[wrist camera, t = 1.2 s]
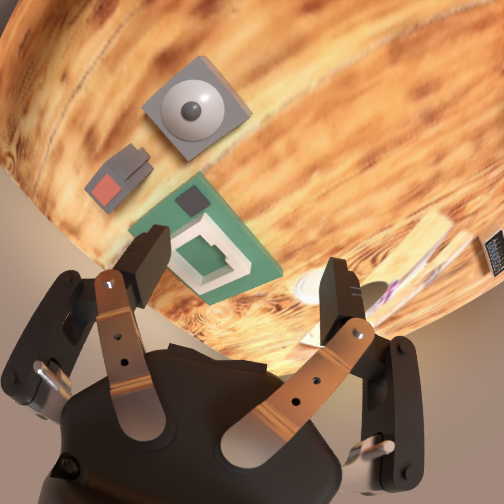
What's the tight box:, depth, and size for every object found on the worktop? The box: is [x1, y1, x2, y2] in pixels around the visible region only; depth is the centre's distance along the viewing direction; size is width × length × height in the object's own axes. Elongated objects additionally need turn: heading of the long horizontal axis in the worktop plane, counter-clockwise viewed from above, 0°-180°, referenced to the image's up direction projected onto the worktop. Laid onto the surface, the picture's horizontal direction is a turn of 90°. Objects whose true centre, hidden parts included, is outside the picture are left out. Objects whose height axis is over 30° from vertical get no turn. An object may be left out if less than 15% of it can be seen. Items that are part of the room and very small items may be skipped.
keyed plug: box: [84, 144, 154, 215], centre depth 28 cm, size 4×6×6 cm
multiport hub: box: [478, 221, 504, 277], centre depth 30 cm, size 4×11×2 cm, turn 50°
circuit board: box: [128, 171, 283, 306], centre depth 36 cm, size 18×14×3 cm
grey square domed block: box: [141, 56, 253, 162], centre depth 24 cm, size 8×8×3 cm
